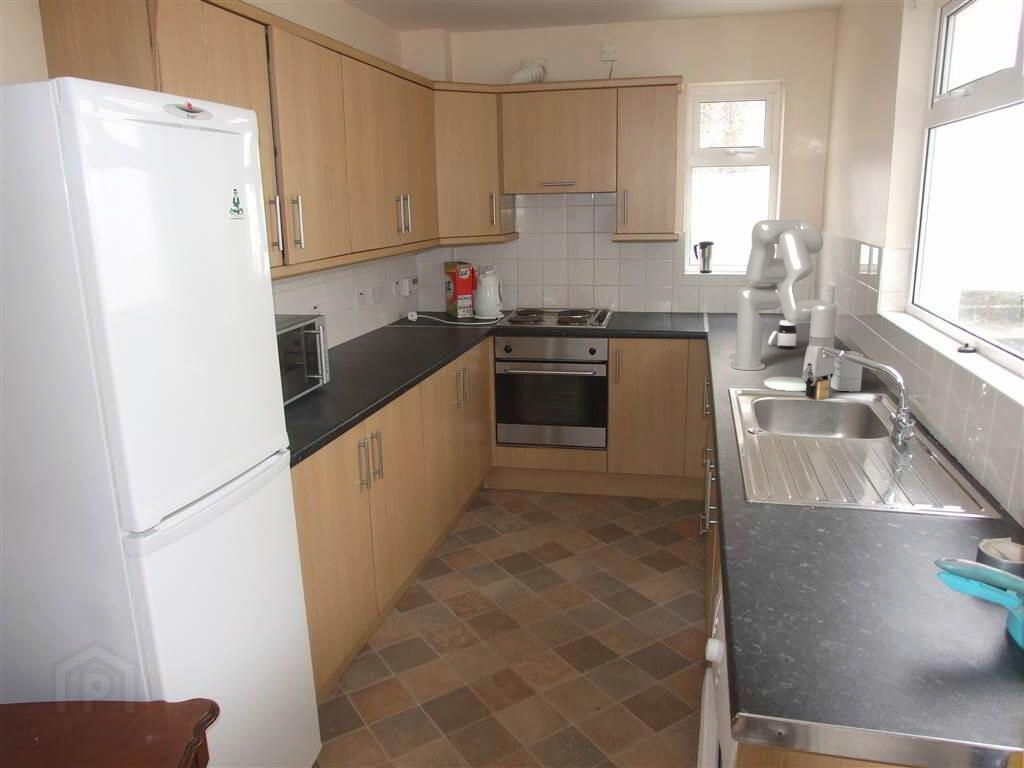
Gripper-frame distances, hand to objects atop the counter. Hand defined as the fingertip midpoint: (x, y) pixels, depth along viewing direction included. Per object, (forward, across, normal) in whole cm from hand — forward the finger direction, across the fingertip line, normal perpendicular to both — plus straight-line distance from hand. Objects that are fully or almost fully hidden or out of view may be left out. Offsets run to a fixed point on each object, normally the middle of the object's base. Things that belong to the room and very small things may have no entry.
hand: (817, 394), depth 251 cm
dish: (+1, -6, -15) cm, 16 cm away
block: (+1, 0, 0) cm, 1 cm away
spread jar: (+1, -60, -63) cm, 87 cm away
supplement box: (+1, -17, -2) cm, 17 cm away
